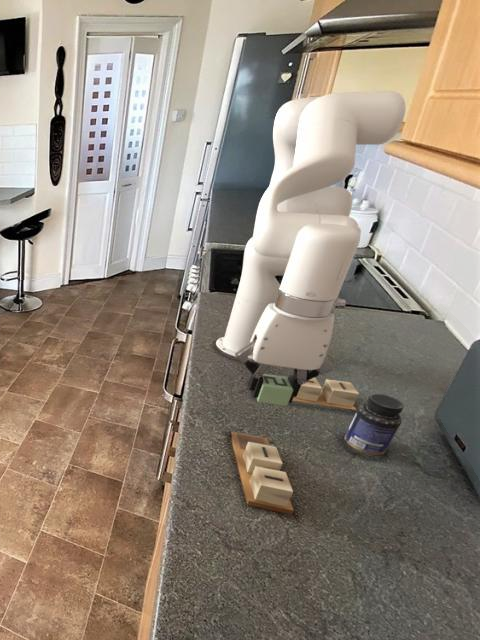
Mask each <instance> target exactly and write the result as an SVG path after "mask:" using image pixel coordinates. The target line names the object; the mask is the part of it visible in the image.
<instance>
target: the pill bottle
mask: <svg viewBox="0 0 480 640" xmlns="http://www.w3.org/2000/svg"><path fill="white" fill-rule="evenodd" d="M404 407H405V405H404V403H403V402H402V401H401V400H399V399H397V398H395V397H394V396H391V395H388V394H387V395H386V394H382V393H372V394H371V395H369V397H368V398H367V401H366V403H364V404H363V403H362V405H360V406H359V407H358V408H357V409H356V412H355V414H354V417H353V419H352V420H351V422H350V425H349V426H348V429H347V431H346V433H345V435H344V440H345V443H346V444H348V445H349V446H350V447H351V448H353V449H354V450H357V451H359V452H362V453H364V454H368V455H373V456H381V455H383V454H385V453H386V452H387V450H388V448H389V446H390V445H391V443H392V440H393V439H394V437H395V435H396V433H397V431H398V429H399V428H400V426H401V425H402V422H403V420H402V417H401V415H400V414H401V413H402V412H403V409H404Z"/></svg>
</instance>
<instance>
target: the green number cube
mask: <svg viewBox="0 0 480 640" xmlns="http://www.w3.org/2000/svg"><path fill="white" fill-rule="evenodd" d="M262 377H263V379H264V381H263V384H262V386H261V389H260V392H259V395H258V397H257V398H256V401H257V403H263V404H270V405H275V406H281V407H288V405H289V404H290V403H289V400H290V397H291V395H292V392H293V389H292V387H291V385H290V383H289V381H288V376H283V375H275V374H270V373H269V374H268V373H264V374H263V376H262Z"/></svg>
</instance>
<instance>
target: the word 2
mask: <svg viewBox="0 0 480 640" xmlns="http://www.w3.org/2000/svg"><path fill="white" fill-rule="evenodd" d="M359 395H360V393H359V391H358V390H357V388H356V387H355V386H354V385H353V383H352V382H350V381H343V380H335V379H330V378H329V379H328V378H326V379H325V382H324V383H323V386H321V384H320V382H319V381H318V379H317V377H315V378H312V379H310V380H308V381H306V383H305V384H303V385H301V387H300V389H299V392H298V394H297V396H296V397H294V398H293V400H292V402H293V401H295V402H300V403H308V404H314V405H321V406H327V407H334V408H340V409H346V410H353V411H357V408H356V407H355V403H356V401H357V398H358V397H359Z"/></svg>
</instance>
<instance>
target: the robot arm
mask: <svg viewBox="0 0 480 640" xmlns="http://www.w3.org/2000/svg"><path fill="white" fill-rule="evenodd" d="M275 115H276V116H275V119H274V121H273V127H272V129H273V130H272V142H273V151H274V167H273V171H272V174H271V179H270V181H269V186H268V187H267V188H266V190H265V191H264V193H263V195H262V197H261V198H260V201H259V203H258V207H257V210H256V214H255V221H254V226H253V233H252V237H251V238H249V240H248V241H247V242H246V245H245V247H244V252H243V260H242V268H241V269H242V270H241V276H240V281H239V284H238V288H237V291H236V295H235V298H234V302H233V305H232V309H231V312H230V316H229V319H228V323H227V325H226V326H227V327H226V330H225V333H224V336H222V337H219V338H218V339H217V340H216V342H215V345H216V347H217V348H218V349H219V350H220V351H222V352H224V353H225V354H228V355H229V356H232V357H235V358H236V360H237V361H239V362H240V363H241V364H242V365H244V366H245V367H246V368H247V370H248V371H249V373H251V376H250V378H249V381H248V384H247V389H248V391H250V393H251V396H252V398H256V399H257V397H258V395H259V392H260V389H261V386H262V384H263V381H264V379H263V377H262V376H263V374H265V372H266V371H267V370H268V368H269V367H270V366H274V367H280V368H288V369H292V370H293V371H292V374H290V375H289V376H287V379H288V381H289V383H290V385H291V387H292V389H293V392H292V395H291V397H290V400H289V403H288V404H292V403H293V398H294V397H296V396H297V394H298V392H299V389H300V387H301V385H303V384H305V383H306V381H308V380H310V379H312V378H317V377H318V376H320V375H324V374H328V373H331V372H333V370H334V367H333V365H332V363H331V361H330V359H329V357H328V355H327V354H328V351H329V348H330V344H331V339H332V336H333V331H334V324H335V315H334V311H335V309H339V308H340V309H344V308H345V307H346V305H347V300H346V299H341V298H339V294H340V292H341V291H342V287H343V285H344V282H345V280H346V277H347V275H348V272H349V270H350V268H351V265H352V262H353V259H354V258H355V256H356V255H355V254H356V252H357V249H358V247H359V244H360V241H361V234H362V229H361V228H360V227H359V224H358V222H357V220H356V219H355V218H353V217H351V216H350V215H351V211H352V205H353V196H352V193H351V192H350V191H349V190H348V189H347V188H345V187H341V186H334V185H337V184H338V183H340V182H342V181H343V180H345V179H346V178H347V177H349V176H350V174H351V173H352V171H353V169H354V168H355V164H356V153H357V152H356V151H357V145H361V146H362V145H365V146H367V145H368V146H369V145H370V146H371V145H373V146H374V145H375V146H376V145H377V146H378V145H383V144H386V143H387V142H389V141H391V140H392V139H393V138H394V137H395V136H396V134H397V133H398V132H399V130H400V128H401V126H402V124H403V122H404V119H405V116H406V102H405V98H404V97H403V95H402V94H401V93H400V92H398V91H394V90H378V91H377V90H376V91H375V90H373V91H348V92H347V91H346V92H333V93H328V94H325V95H321V96H311V97H309V96H308V97H301V98H296V99H292V100H289V101H287V102H285V103H284V104H282V105H281V106H280V107H279V108H278V110H277V113H276V114H275ZM276 276H281V277H282V280H281V282H279V281H278V279H277V277H276Z"/></svg>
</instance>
